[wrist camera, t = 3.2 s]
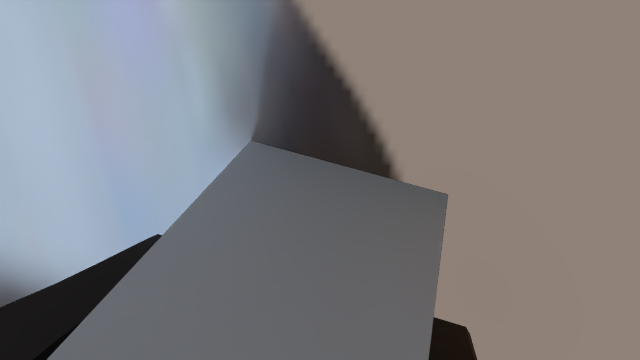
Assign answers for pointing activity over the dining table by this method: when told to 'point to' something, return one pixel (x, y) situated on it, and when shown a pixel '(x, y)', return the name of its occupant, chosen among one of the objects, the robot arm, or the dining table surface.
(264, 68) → the dining table surface
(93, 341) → the peg
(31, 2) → the dining table surface
